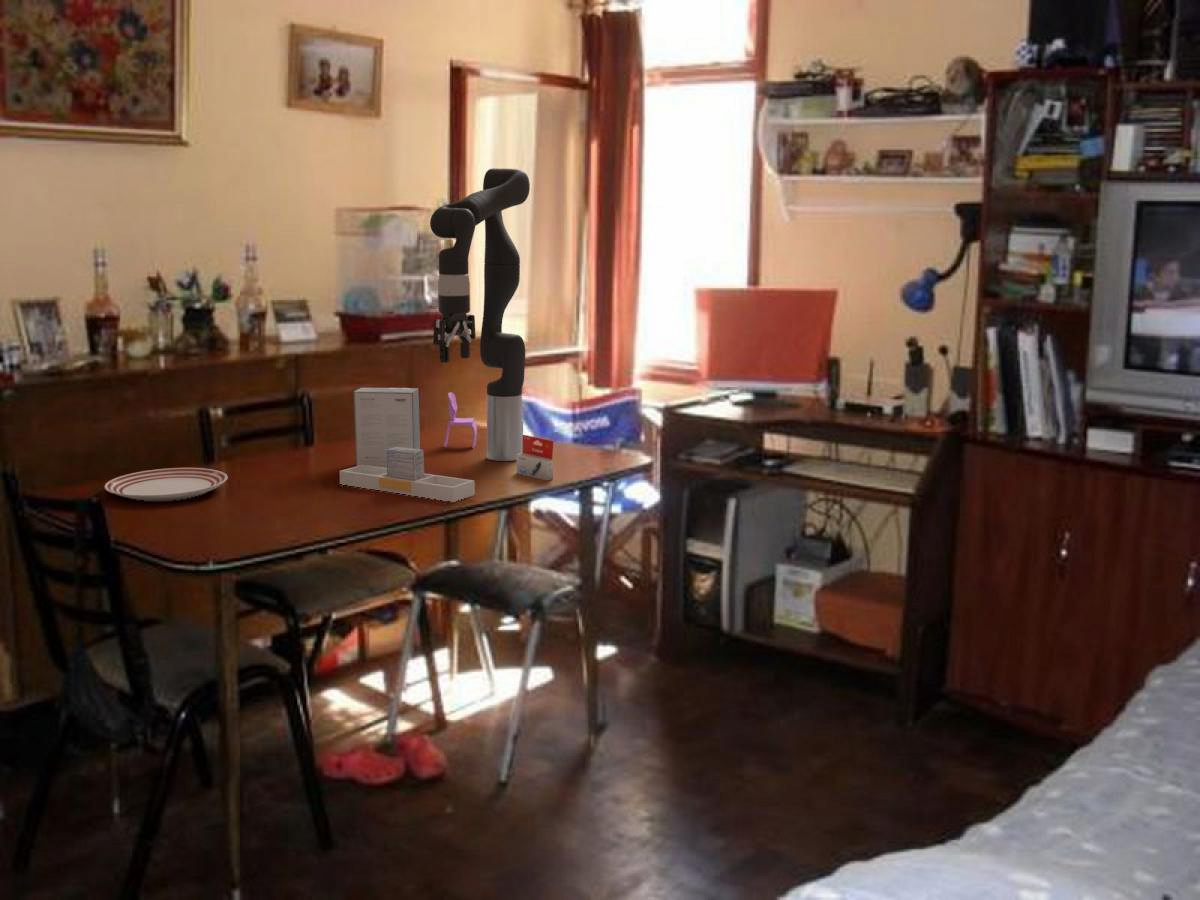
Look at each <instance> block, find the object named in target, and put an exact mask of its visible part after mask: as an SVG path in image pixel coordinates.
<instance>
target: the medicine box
mask: <svg viewBox="0 0 1200 900" xmlns="http://www.w3.org/2000/svg"><path fill="white" fill-rule="evenodd" d="M424 454H425V452H424V449H421V448H420V449H413V448H402V447H394V448H391V449H389V450H387V451H386V458H387V477H391V478H397V479H404V480H411V481H416V480H419V479H422V478H424V473H425V463H424V462H425V457H424V456H425V455H424Z"/></svg>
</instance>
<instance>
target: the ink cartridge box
mask: <svg viewBox="0 0 1200 900" xmlns="http://www.w3.org/2000/svg"><path fill="white" fill-rule="evenodd" d="M537 441H538V442H539V443H540V444H541V445H538V444H534V442H537ZM553 452H554V440H550V439H546V438H541V437H536V436H530V435H526V434H523V453H519V454H516V457H517V460H516V474H517V473H519V474H518V475H521V474H523V475H522V476H526V475H527V477H530V476H531V477H530V478H534V479H538V480H539V479H540V480H544V481H549V480H550V481H551V480H553V479H554V460H553Z"/></svg>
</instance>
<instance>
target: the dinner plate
mask: <svg viewBox="0 0 1200 900" xmlns="http://www.w3.org/2000/svg"><path fill="white" fill-rule="evenodd" d="M228 478H229V477H228V475H227V474H226V473H225V472H224V471H223V472H222V471H220V470H216V469H211V468H202V467H172V468H169V467H168V468H159V469H152V470H143V471H137V472H132V473H128V474H124V475H120V476H118V477H115V478H113V479H110V480H108V482H106V483H105V484H104V489H105V491H107V492H108V493H110V494H112V495H113V494H114V495H117V496H119V497H123V498H128V499H132V500H134V499H136V500H135V501H140V500H144V501H143V502H173V500H176V501H182V500H181V499H183V500H188V499H187V498H189V499H192V498H191V497H194V498H196V497H195V496H197V497H199V495H200V496H202V495H204V494H206V493H208V492H210V491H211V492H212V491H213V490H215V489H217V488H219V487H220V486H222V485H224V483H225V482H226V481H227V480H228Z"/></svg>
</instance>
